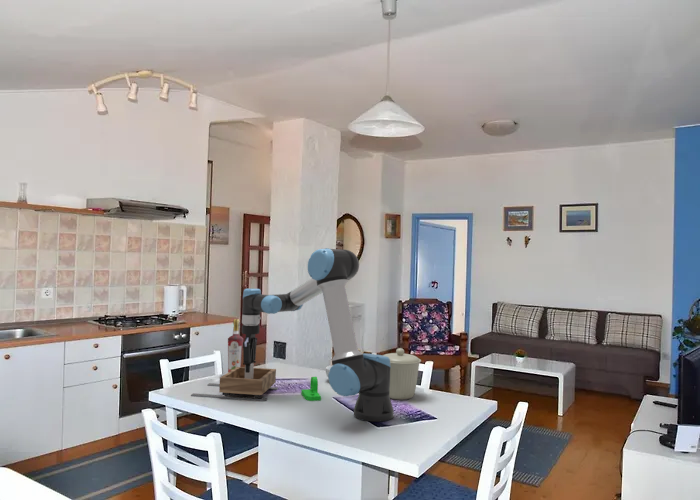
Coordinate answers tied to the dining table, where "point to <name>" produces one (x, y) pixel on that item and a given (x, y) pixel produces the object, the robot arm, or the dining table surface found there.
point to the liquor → (235, 347)
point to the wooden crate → (247, 381)
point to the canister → (403, 374)
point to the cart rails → (231, 396)
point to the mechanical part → (312, 391)
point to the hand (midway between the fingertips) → (248, 378)
